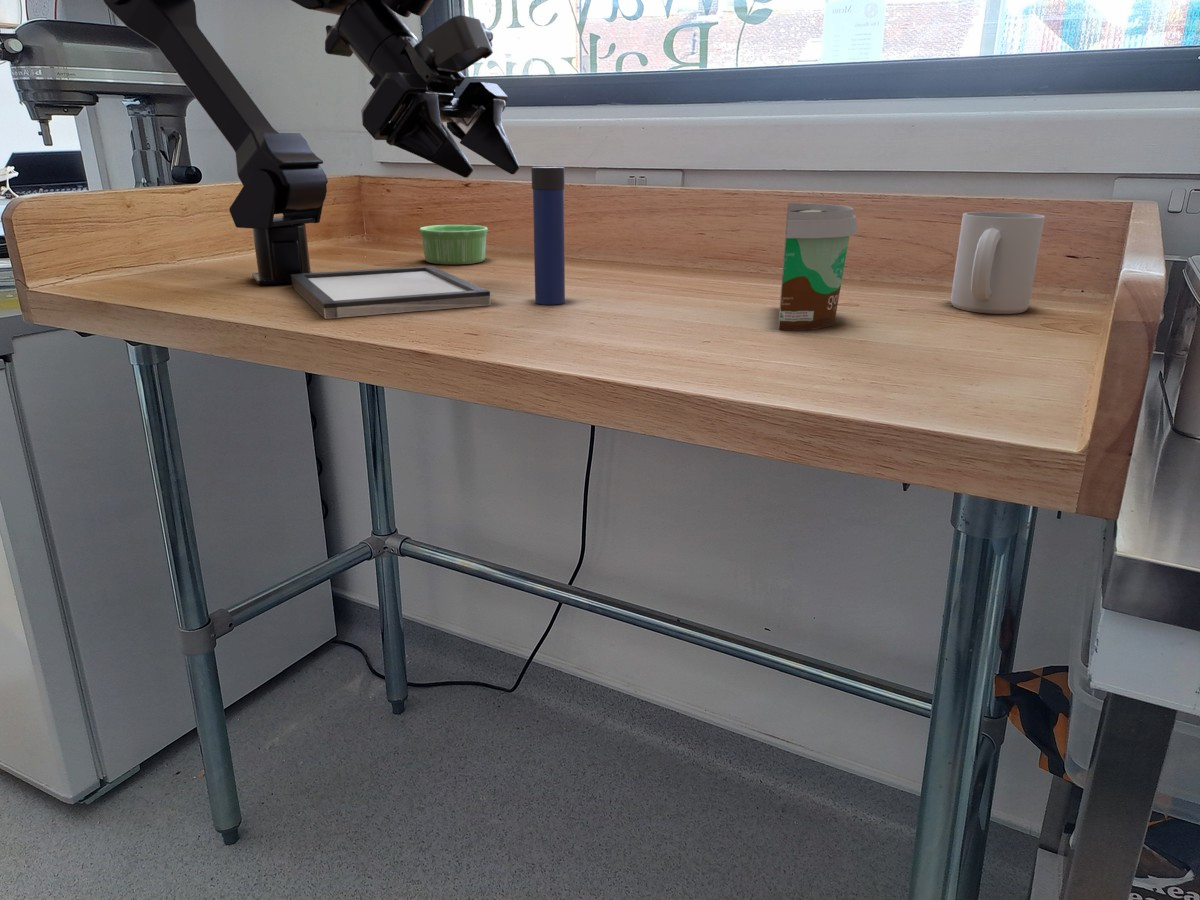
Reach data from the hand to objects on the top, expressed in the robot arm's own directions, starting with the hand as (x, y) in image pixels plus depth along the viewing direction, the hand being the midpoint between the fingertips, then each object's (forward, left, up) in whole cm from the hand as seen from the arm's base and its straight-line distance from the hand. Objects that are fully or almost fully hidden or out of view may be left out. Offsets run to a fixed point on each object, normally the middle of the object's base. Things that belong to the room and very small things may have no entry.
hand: (494, 172), depth 84 cm
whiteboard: (-6, -10, -12) cm, 17 cm away
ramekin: (-29, +5, -13) cm, 32 cm away
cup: (+27, +41, -13) cm, 50 cm away
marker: (+5, +4, -12) cm, 14 cm away
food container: (+24, +22, -13) cm, 34 cm away
